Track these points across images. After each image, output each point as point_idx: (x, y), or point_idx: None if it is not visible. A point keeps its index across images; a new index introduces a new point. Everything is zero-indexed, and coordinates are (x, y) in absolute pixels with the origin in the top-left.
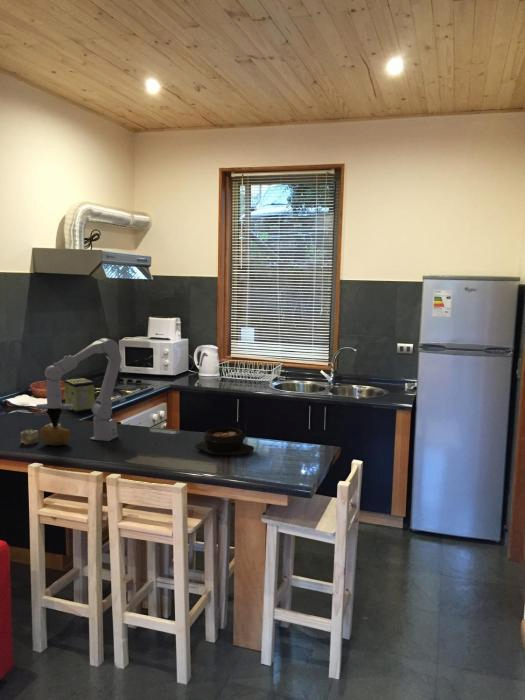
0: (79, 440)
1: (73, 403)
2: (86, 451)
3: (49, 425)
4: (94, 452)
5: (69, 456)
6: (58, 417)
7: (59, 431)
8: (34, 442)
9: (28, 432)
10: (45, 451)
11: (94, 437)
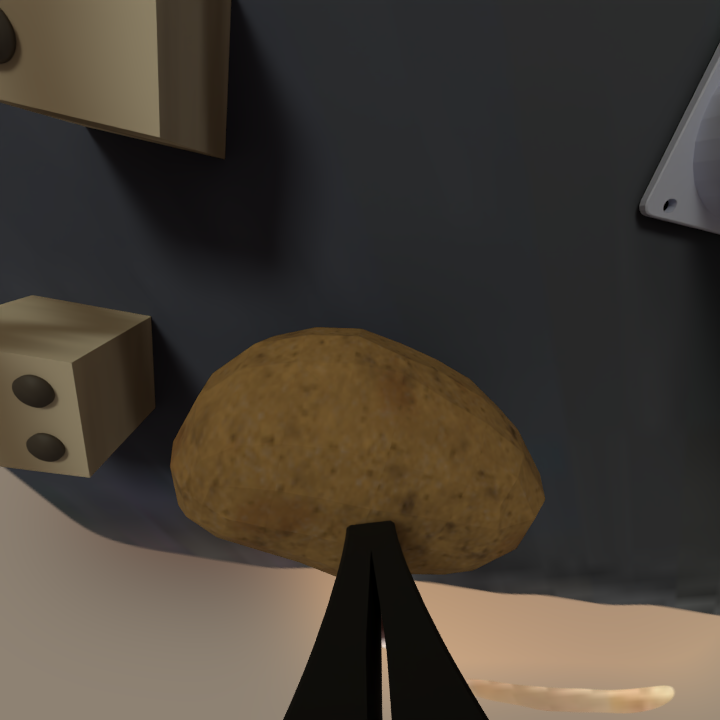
0: (529, 247)
1: None
2: (617, 496)
3: (11, 48)
4: (669, 506)
5: (526, 569)
6: (435, 660)
7: (453, 572)
8: (149, 373)
9: (39, 458)
10: None
11: (701, 189)
